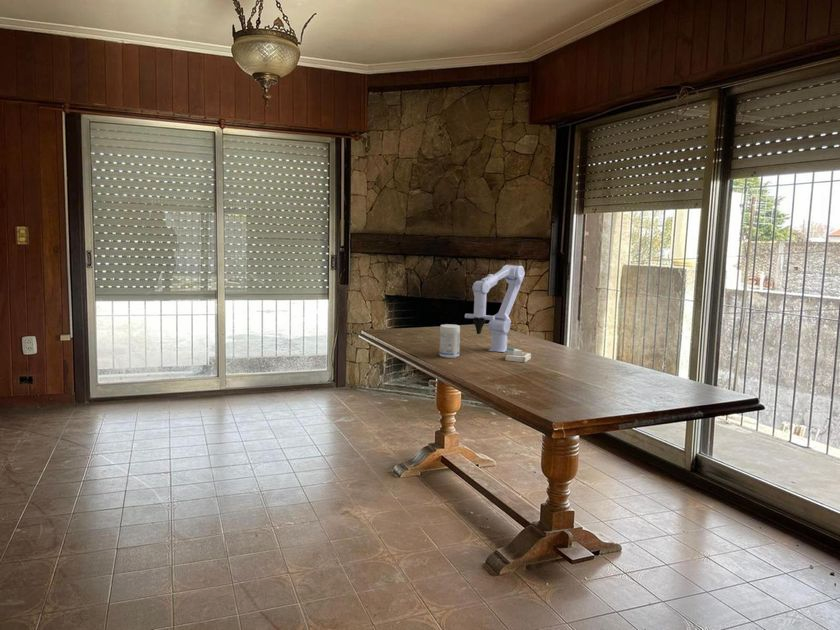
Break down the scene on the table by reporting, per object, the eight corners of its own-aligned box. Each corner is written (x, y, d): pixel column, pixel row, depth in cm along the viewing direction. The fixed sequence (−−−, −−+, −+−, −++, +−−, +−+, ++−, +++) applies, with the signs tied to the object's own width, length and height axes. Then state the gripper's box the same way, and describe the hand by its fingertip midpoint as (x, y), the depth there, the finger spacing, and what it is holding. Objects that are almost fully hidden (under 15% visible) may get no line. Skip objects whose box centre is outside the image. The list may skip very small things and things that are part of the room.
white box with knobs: (505, 357, 302) (505, 346, 301) (513, 357, 304) (514, 345, 303) (513, 360, 295) (514, 349, 295) (522, 360, 298) (523, 348, 297)
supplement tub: (450, 353, 308) (451, 323, 306) (463, 356, 300) (464, 326, 298) (434, 355, 302) (435, 324, 300) (448, 359, 294) (449, 327, 292)
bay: (511, 356, 306) (512, 351, 306) (530, 358, 302) (531, 353, 302) (505, 360, 296) (505, 355, 295) (524, 362, 292) (525, 357, 292)
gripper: (463, 305, 305) (461, 333, 307) (492, 307, 299) (490, 336, 301) (467, 304, 311) (466, 331, 313) (496, 306, 306) (495, 334, 308)
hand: (478, 333), depth 308 cm, fingers closed
